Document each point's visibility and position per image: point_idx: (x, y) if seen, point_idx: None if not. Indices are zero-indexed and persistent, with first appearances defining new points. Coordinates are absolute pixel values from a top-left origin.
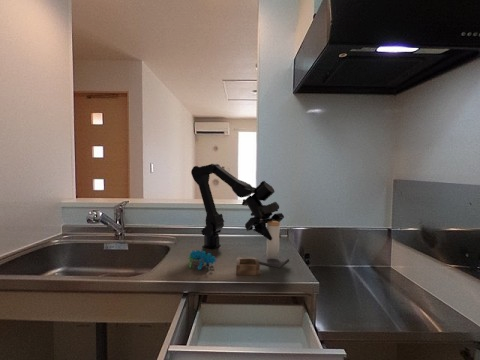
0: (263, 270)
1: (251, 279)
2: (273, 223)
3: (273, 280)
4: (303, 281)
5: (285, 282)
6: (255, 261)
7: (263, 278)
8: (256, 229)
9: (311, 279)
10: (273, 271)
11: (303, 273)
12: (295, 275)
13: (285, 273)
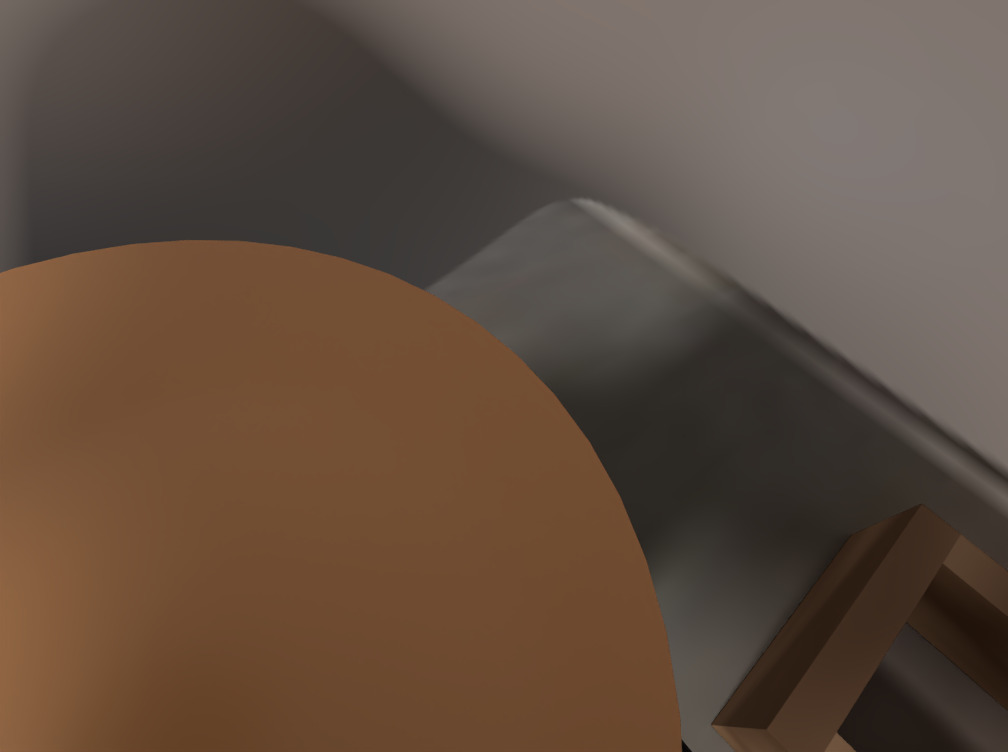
0: (727, 591)
1: (972, 531)
2: (511, 419)
3: (799, 382)
4: (617, 231)
5: (740, 303)
6: (876, 662)
7: (853, 464)
8: None
9: (543, 210)
10: (657, 493)
11: (484, 287)
12: (570, 311)
13: (602, 387)
